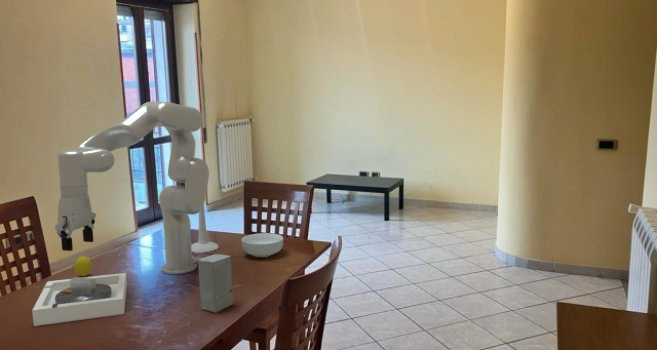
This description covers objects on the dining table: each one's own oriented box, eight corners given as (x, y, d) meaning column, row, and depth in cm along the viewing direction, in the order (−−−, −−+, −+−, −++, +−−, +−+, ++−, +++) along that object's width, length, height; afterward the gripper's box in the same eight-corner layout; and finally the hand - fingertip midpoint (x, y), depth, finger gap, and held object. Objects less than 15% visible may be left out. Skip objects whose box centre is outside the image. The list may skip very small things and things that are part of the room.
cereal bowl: (291, 252, 214) (291, 236, 213) (266, 264, 200) (265, 246, 199) (259, 246, 223) (259, 230, 222) (233, 257, 209) (232, 240, 208)
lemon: (86, 280, 185) (84, 258, 183) (72, 279, 186) (70, 257, 184) (95, 274, 190) (94, 253, 189) (82, 273, 191) (80, 252, 190)
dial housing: (127, 286, 179) (125, 271, 178) (123, 314, 156) (122, 297, 155) (48, 295, 171) (47, 280, 170) (33, 326, 148) (31, 309, 148)
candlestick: (194, 243, 228) (191, 176, 223) (223, 244, 226) (220, 176, 221) (182, 252, 215) (178, 181, 210) (212, 253, 213) (209, 181, 209)
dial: (121, 289, 169) (120, 271, 168) (90, 309, 154) (89, 290, 153) (78, 286, 172) (76, 269, 171) (43, 305, 157) (41, 286, 156)
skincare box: (215, 314, 156) (213, 263, 153) (198, 308, 159) (196, 259, 157) (234, 304, 163) (233, 255, 160) (218, 299, 166) (215, 251, 164)
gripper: (81, 186, 167) (85, 238, 169) (42, 195, 150) (47, 253, 152) (103, 186, 165) (106, 239, 168) (65, 196, 149) (70, 254, 151)
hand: (78, 245), depth 160 cm, fingers open, 9 cm apart
